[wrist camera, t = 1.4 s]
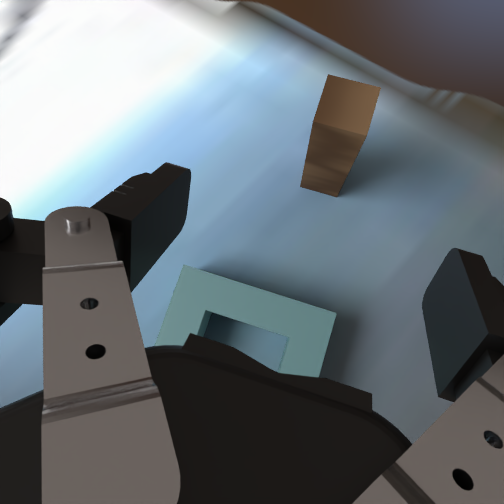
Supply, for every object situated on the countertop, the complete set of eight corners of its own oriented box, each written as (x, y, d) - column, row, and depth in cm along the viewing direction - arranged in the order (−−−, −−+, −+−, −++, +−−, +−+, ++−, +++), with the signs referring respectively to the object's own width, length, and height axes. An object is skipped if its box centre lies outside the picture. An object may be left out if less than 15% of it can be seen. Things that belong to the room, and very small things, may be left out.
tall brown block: (346, 163, 31) (380, 87, 22) (336, 197, 31) (366, 135, 21) (310, 153, 32) (328, 74, 22) (300, 186, 31) (313, 121, 21)
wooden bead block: (330, 314, 29) (336, 313, 26) (286, 466, 27) (288, 483, 24) (192, 270, 30) (183, 264, 27) (141, 413, 28) (126, 423, 26)
